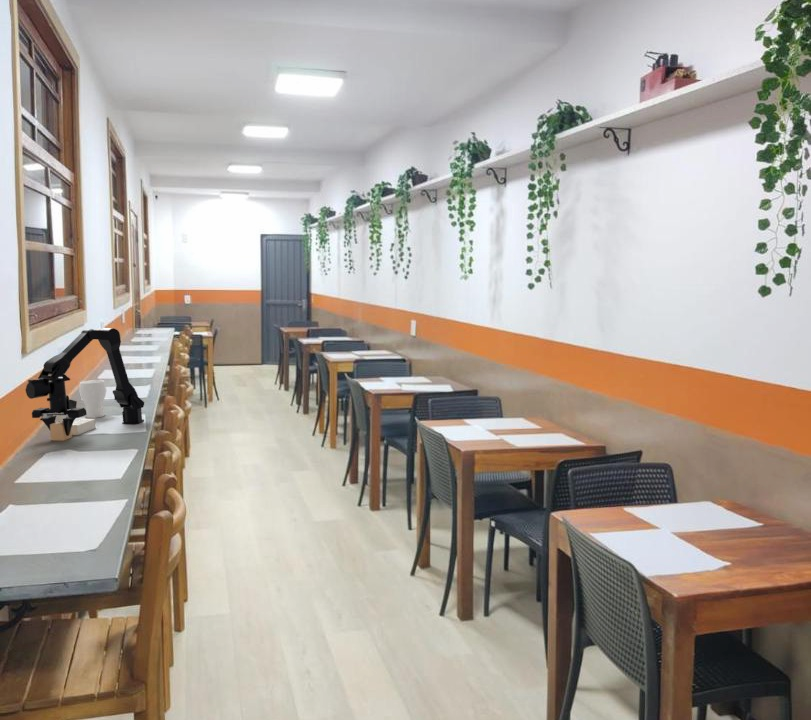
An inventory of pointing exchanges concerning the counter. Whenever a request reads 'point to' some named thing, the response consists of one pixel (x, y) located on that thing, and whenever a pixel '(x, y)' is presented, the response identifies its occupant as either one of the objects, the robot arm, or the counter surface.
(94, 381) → the cup
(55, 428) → the light brown cardboard box
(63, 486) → the counter surface
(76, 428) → the white slotted tower
